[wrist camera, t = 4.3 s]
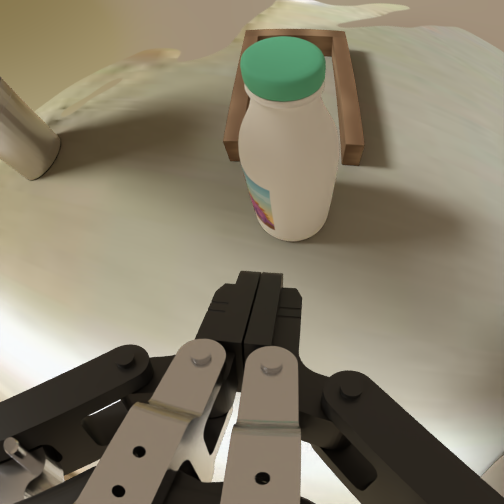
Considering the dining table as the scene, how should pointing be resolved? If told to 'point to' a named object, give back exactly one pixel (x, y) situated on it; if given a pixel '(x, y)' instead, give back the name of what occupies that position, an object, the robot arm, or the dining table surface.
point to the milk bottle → (287, 137)
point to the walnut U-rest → (344, 82)
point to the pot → (496, 476)
